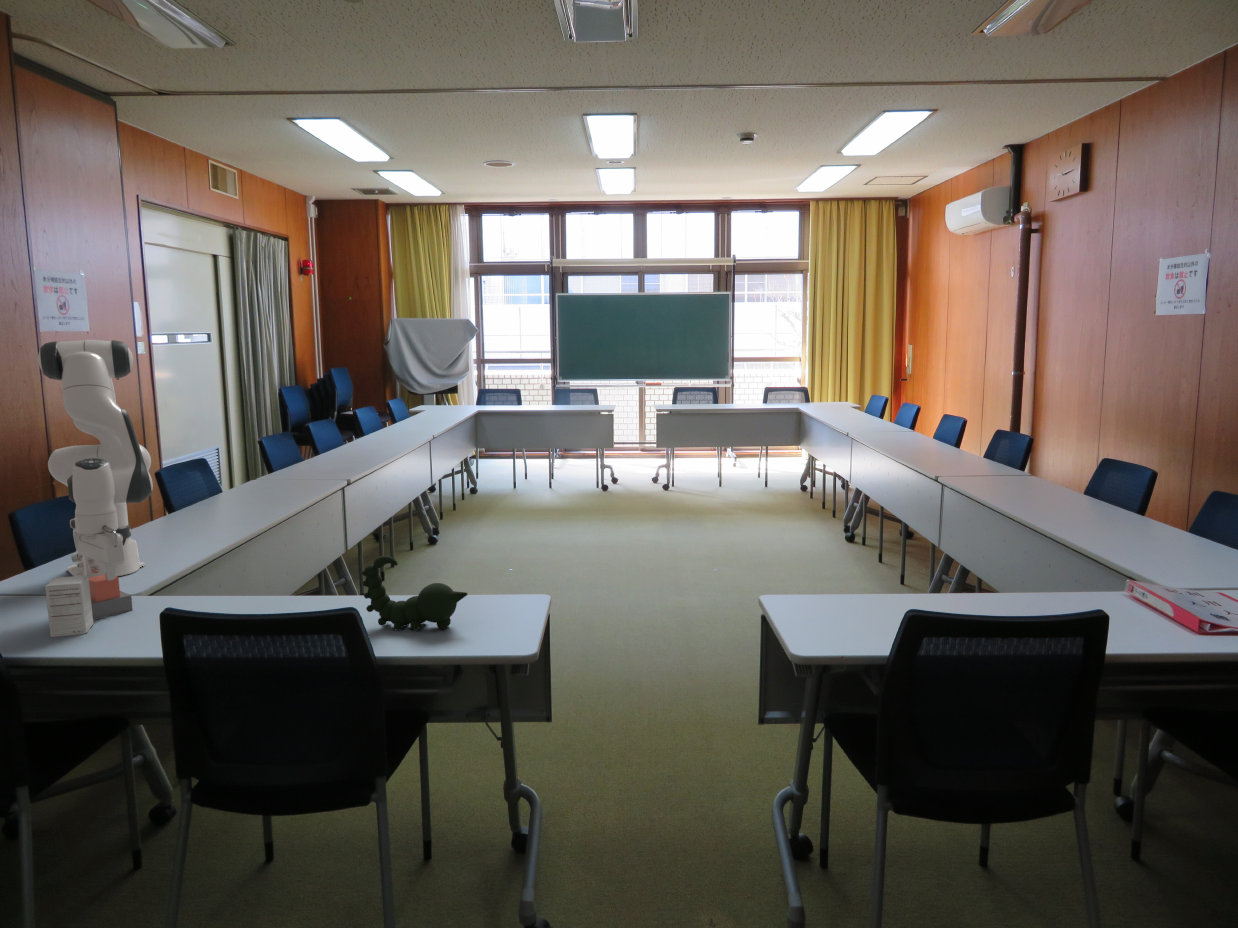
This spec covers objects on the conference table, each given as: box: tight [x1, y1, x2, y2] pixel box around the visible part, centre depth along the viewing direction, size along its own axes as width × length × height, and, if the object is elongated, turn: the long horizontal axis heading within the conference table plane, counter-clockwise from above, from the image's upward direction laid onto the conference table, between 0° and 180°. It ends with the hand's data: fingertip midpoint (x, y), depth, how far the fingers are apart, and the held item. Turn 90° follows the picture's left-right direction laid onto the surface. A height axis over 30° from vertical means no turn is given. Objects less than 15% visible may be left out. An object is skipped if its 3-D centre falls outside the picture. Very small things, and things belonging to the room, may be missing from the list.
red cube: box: [89, 575, 121, 602], centre depth 204 cm, size 5×5×5 cm
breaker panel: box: [91, 590, 134, 621], centre depth 206 cm, size 13×10×4 cm
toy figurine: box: [361, 555, 468, 632], centre depth 192 cm, size 9×19×25 cm
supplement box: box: [44, 575, 94, 638], centre depth 190 cm, size 7×7×13 cm
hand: (102, 576), depth 203 cm, fingers open, 8 cm apart
